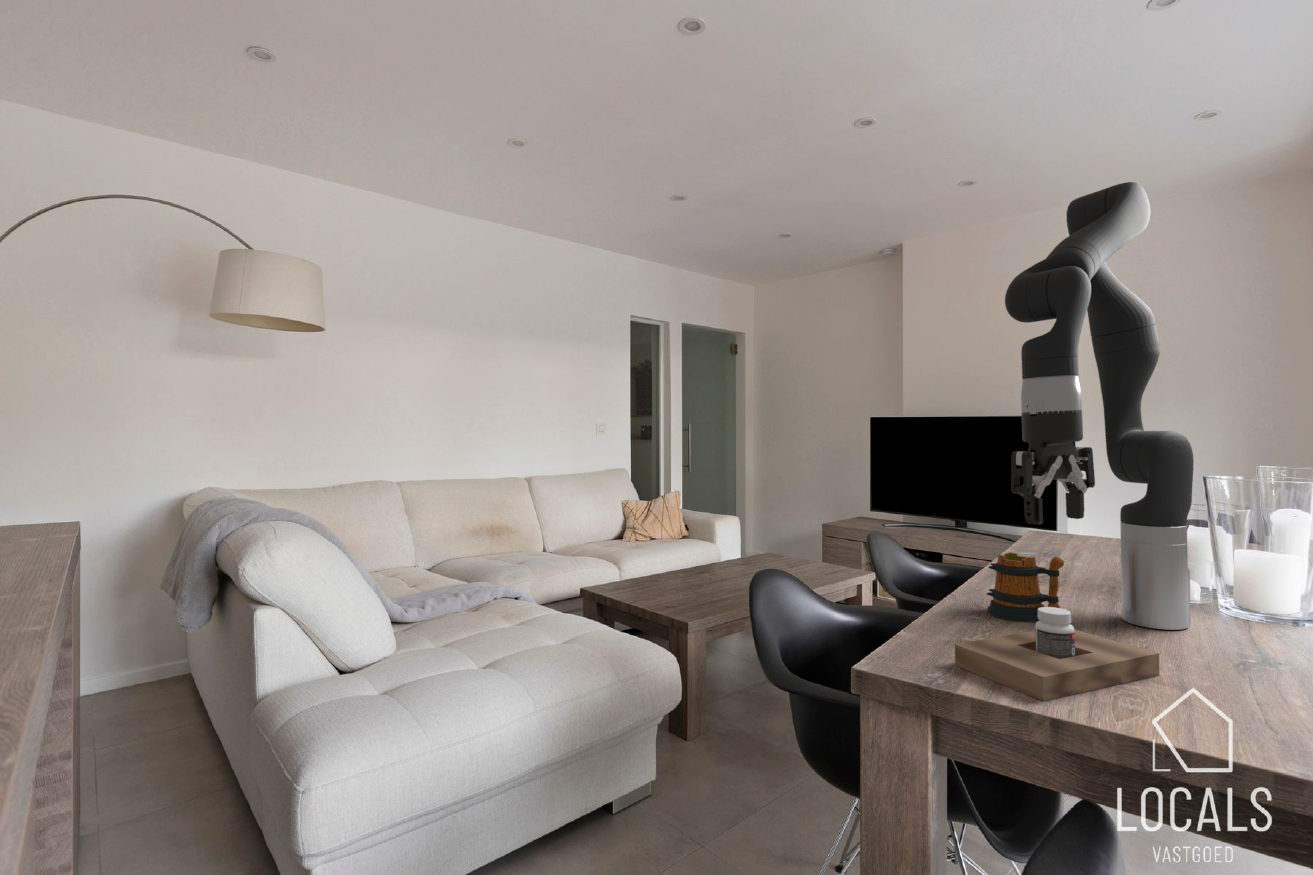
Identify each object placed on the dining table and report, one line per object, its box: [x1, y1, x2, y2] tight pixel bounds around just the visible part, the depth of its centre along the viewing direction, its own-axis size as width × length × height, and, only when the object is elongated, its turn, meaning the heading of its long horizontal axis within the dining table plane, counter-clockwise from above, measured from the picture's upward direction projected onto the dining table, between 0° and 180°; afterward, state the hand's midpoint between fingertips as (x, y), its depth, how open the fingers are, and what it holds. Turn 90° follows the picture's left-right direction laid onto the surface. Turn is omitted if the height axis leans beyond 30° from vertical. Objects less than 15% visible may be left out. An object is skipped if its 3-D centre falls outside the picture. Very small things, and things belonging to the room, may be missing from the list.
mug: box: [986, 551, 1065, 623], centre depth 119 cm, size 13×10×12 cm
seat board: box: [954, 628, 1160, 702], centre depth 92 cm, size 22×14×3 cm, turn 111°
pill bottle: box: [1034, 606, 1076, 659], centre depth 92 cm, size 5×5×8 cm
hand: (1055, 521), depth 95 cm, fingers open, 8 cm apart
